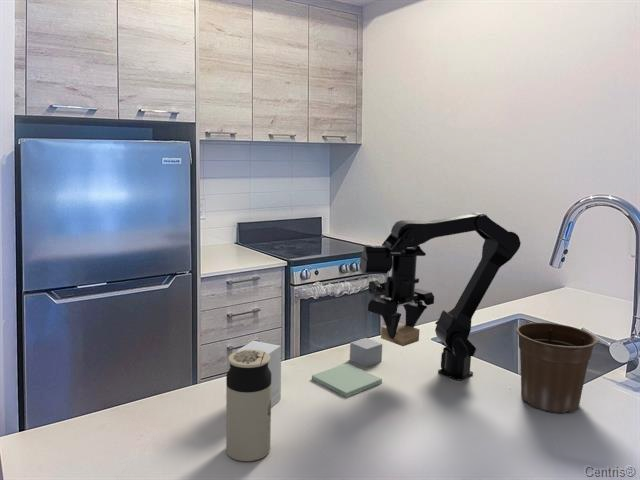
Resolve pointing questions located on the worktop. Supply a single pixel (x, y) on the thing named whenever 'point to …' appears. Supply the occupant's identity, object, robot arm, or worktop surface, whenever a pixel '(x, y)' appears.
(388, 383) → the worktop surface
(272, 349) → the supplement box
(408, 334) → the walnut block
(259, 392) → the travel mug
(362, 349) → the slate block
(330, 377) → the baseplate
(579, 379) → the plant pot
